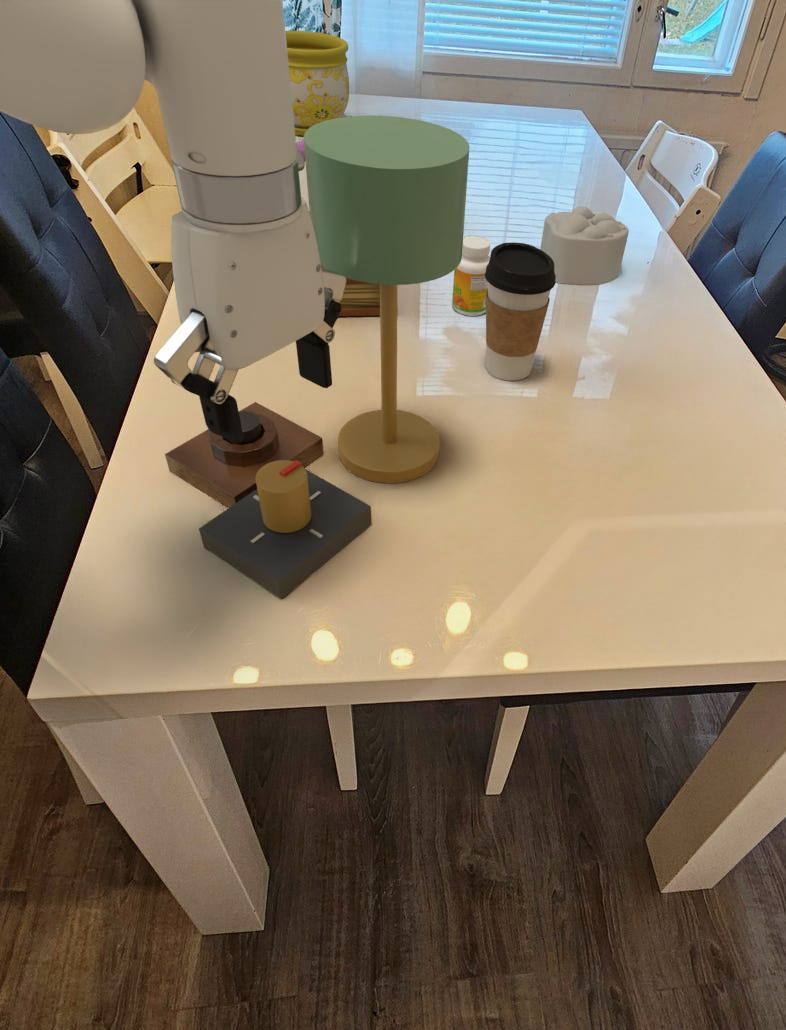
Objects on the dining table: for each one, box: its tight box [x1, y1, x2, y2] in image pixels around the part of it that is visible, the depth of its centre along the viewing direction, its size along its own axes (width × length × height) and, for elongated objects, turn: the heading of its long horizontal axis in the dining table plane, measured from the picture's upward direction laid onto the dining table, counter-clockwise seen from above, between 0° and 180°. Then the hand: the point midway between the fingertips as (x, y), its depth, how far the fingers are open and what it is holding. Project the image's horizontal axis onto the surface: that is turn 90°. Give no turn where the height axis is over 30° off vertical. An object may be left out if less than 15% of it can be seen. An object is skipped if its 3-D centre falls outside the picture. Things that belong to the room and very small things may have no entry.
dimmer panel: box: [198, 468, 372, 600], centre depth 66 cm, size 12×10×3 cm
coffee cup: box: [485, 242, 557, 382], centre depth 86 cm, size 8×8×15 cm
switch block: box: [164, 401, 324, 509], centre depth 73 cm, size 12×10×4 cm
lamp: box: [303, 115, 470, 484], centre depth 67 cm, size 13×13×32 cm
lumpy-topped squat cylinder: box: [539, 206, 629, 286], centre depth 112 cm, size 10×13×9 cm
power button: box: [226, 410, 262, 445], centre depth 71 cm, size 4×4×2 cm
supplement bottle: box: [451, 235, 491, 317], centre depth 99 cm, size 5×5×10 cm
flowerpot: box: [285, 30, 350, 137], centre depth 150 cm, size 18×18×16 cm
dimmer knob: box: [256, 460, 312, 533], centre depth 63 cm, size 4×4×5 cm
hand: (273, 407), depth 57 cm, fingers open, 9 cm apart
